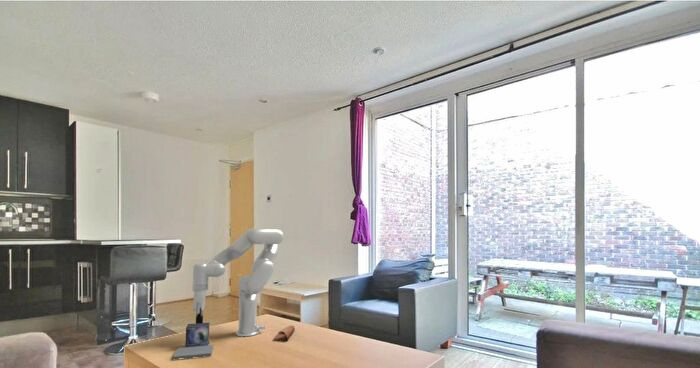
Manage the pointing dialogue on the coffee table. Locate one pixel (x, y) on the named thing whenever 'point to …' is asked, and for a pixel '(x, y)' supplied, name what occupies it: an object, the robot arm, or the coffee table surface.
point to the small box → (197, 334)
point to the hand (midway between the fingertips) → (199, 323)
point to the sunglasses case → (284, 334)
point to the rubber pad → (193, 352)
